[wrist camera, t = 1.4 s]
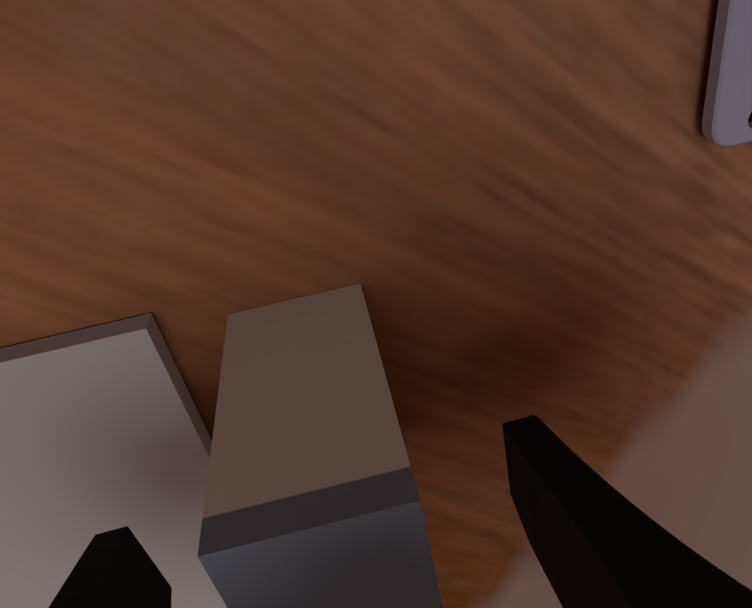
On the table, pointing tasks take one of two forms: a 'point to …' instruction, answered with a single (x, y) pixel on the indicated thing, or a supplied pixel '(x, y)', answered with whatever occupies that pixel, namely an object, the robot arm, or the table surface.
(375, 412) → the beige rectangular block
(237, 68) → the table surface
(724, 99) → the robot arm
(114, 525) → the mat
